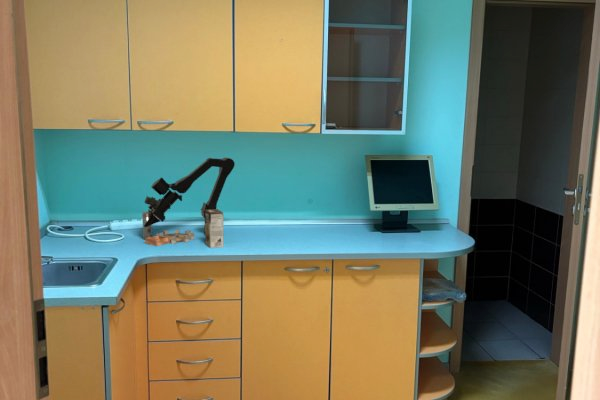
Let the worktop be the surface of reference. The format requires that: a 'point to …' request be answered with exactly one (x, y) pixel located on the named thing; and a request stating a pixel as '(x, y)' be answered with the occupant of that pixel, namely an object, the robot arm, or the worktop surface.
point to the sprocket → (170, 237)
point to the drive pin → (146, 230)
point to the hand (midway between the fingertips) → (144, 225)
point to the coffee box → (214, 228)
